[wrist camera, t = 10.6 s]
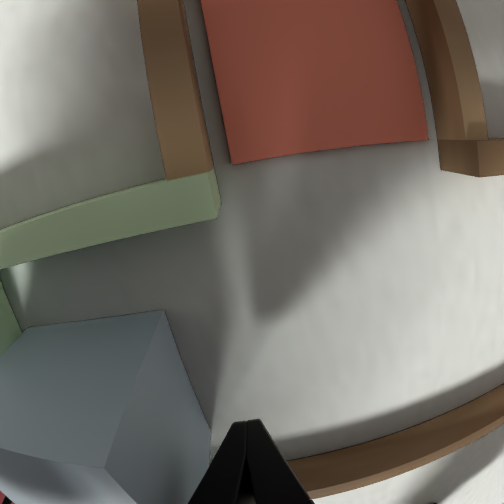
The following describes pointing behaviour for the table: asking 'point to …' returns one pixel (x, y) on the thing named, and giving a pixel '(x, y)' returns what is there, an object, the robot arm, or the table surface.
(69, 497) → the slate block
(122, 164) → the table surface
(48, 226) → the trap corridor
